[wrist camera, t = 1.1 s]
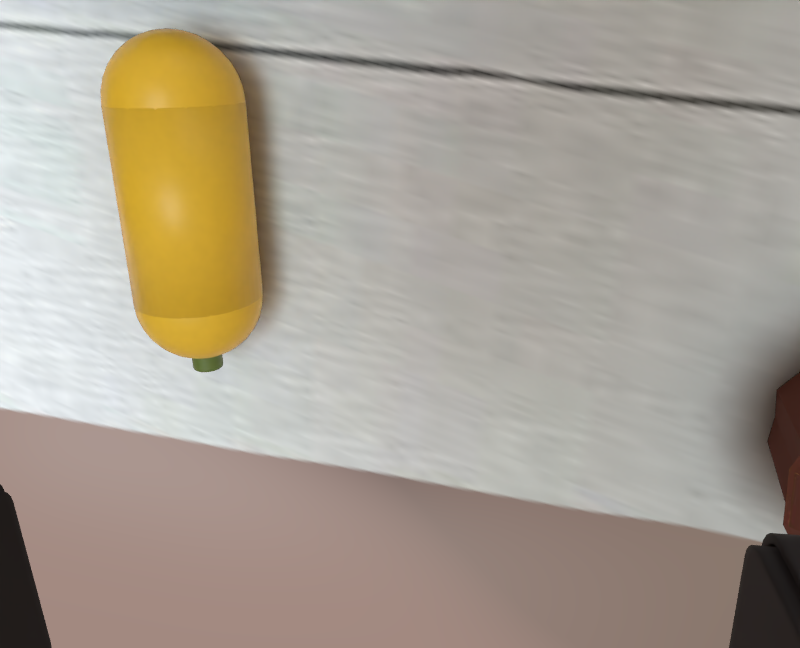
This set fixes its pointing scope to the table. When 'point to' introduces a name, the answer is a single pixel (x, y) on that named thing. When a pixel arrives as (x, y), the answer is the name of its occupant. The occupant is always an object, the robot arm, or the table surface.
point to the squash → (184, 192)
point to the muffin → (788, 450)
